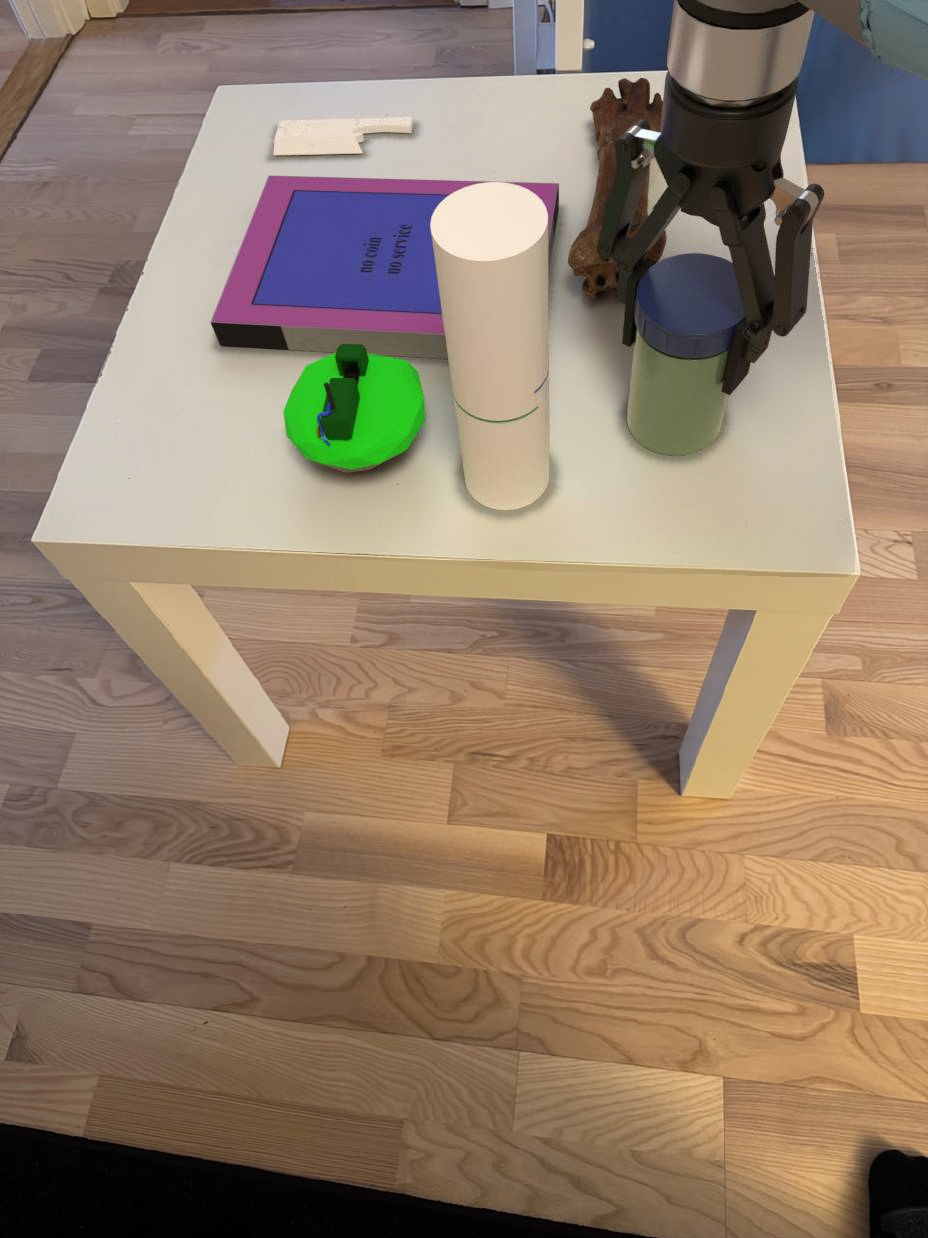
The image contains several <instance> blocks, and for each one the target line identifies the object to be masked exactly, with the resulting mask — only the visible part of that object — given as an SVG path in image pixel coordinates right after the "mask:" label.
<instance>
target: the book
mask: <svg viewBox="0 0 928 1238" xmlns="http://www.w3.org/2000/svg"><path fill="white" fill-rule="evenodd" d="M486 182H492V181H488V180H487V181H485V180H451V179H450V180H447V179H418V178H417V179H415V178H414V179H412V178H381V177H380V178H376V177H375V178H373V177H343V176H342V177H339V176H338V177H337V176H302V175H301V176H299V175H268V176H267V178H266V181H265V184H264V186H263V188H262V191H261V194H260V196H259V199H258V202H257V203H256V206H255V209H254V211H253V213H252V215H251V219H250V221H249V224H248V226H247V229H246V231H245V233H244V236H243V239H242V242H241V244H240V246H239V249H238V251H237V254H236V256H235V259H234V261H233V264H232V266H231V269H230V271H229V274H228V276H227V279H226V281H225V284H224V287H223V289H222V292H221V295H220V297H219V300H218V302H217V304H216V307H215V309H214V312H213V314H212V316H211V319H210V325H211V327H212V330H213V332H214V334H215V337H216V339H217V341H218V344H219V346H220V347H229V348H244V349H245V348H248V349H262V350H263V349H266V350H281V351H295V352H296V351H298V352H314V353H315V352H316V353H331V354H334V353H336V351H337V348H338V347H339V346H340V345H341V344H363V346H364V347H365V348H366V351H367V353H368V354H376V355H381V356H387V357H405V358H422V359H439V360H448V353H447V346H446V338H445V331H444V323H443V316H442V309H441V301H440V294H439V286H438V279H437V272H436V264H435V257H434V249H433V242H432V234H431V227H430V223H431V217H432V215H433V213H434V211H435V209H436V208H437V206H438V205H439V204H440V203H441V202H442V201H443V200H444V199H445V198H446V197H448V196H449V195H451V194H452V193H454V192H455V191H458V190H460V189H462V188H464V187H467V186H471V185H474V184H480V183H486ZM502 182H503V183H510V184H514V185H518V186H521V187H523V188H526V189H528V190H530V191H531V192H533V193H534V194H536V195H537V196H538V197H539V198H540V199H541V200H542V202H543V203H544V205H545V207H546V209H547V213H548V273H550V265H551V259H552V253H553V247H554V242H555V235H556V229H557V224H558V223H557V222H558V217H559V212H560V211H559V210H560V183H559V182H527V181H526V182H524V181H523V182H522V181H502Z"/></svg>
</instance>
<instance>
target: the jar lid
mask: <svg viewBox="0 0 928 1238" xmlns="http://www.w3.org/2000/svg"><path fill="white" fill-rule="evenodd" d="M634 317H635V323H636V326H637V329H638V331H639V333H640V334H641V336H642V337H643V338H644V339H645V340H646V341H647V342H648V343H649V344H650V345H652V346H653V347H655V348H656V349H658V350H660V351H662V352H664V353H667V354H670V355H674V356H678V357H685V358H702V357H708V356H713V355H716V354H719V353H722V352H724V351H726V350H728V349H730V348H731V346H732V342H733V338H734V333H735V329H736V327H737V325H738V324H739V323H740V322H741V321H742V320H743V319H744V318H745V313H744V308H743V304H742V300H741V296H740V292H739V288H738V283H737V279H736V275H735V271H734V267H733V263H732V261H730V260H728V259H725V258H723V257H721V256H718V255H713V254H708V253H700V252H699V253H698V252H697V253H696V252H692V253H689V252H688V253H680V254H676V255H672V256H669V257H667V258H664V259H660V260H659V262H657V263H656V264H654V265H653V266H652V267H650V268H649V269H648V270H647V271H646V272H645V273H644V275H643V276H642V278H641V279H640V282H639V284H638V288H637V296H636V299H635V307H634Z"/></svg>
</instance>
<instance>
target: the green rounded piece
mask: <svg viewBox="0 0 928 1238" xmlns="http://www.w3.org/2000/svg"><path fill="white" fill-rule="evenodd" d="M282 414H283V420H284V426H285V433H286V436H287V438H288V439H289V440H290V442H291V443H292V444H293V445H294V446H295V447H296V449H297V450H298V451H299V452H300V453H301V455H302V456H303V457H304V458H305V459H306V460H307V461H311V462H313V463H317V464H320V465H323V466H326V467H328V468H331V469H333V470H337V471H339V472H342V473H346V474H347V473H355V472H363V471H371V470H373V469H374V468H376V467H378V466H380V465H381V464H384V463H385V462H387V461H389V460H391V459H393V458H395V457H396V456H399V455H400V454H402V453H404V452H406V451H408V449H409V447H410V446H411V445H412V442H413V441H414V439H415V438H416V437H417V435H418V433H419V432H420V430H421V428H422V427H423V425H424V424H425V422H426V406H425V396H424V391H423V387H422V383H421V379H420V374H419V371H418V369H416V368H415V367H414V365H412V364H411V363H410V362H409V361H408V360H407V359H403V358H398V357H393V356H384V355H376V354H368V353H367V351H366V348H365V347H364V346H363V344H341V345H340V346H339V347H338V348H337V351H336V353H331V354H329V355H327V356H325V357H322V358H320V359H317V360H315V361H313V362H310V363H308V364H306V365H305V367H304V369H303V371H302V372H301V374H300V376H299V377H298V379H297V380H296V382H295V384H294V386H293V387H292V389H291V391H290V394H289V397H288V398H287V401H286V403H285V405H284V408H283V410H282Z"/></svg>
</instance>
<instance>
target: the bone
mask: <svg viewBox="0 0 928 1238" xmlns="http://www.w3.org/2000/svg"><path fill="white" fill-rule="evenodd" d="M617 87H618V91H619V95H620V97H617V96H616V94H615V93H614V91H613V89H612V88H611V87H605V88H604V89H603V92H602V94H601V96H600V97H599V98H598V99H597V100H594V101H592V102H591V104H590V107H589V111H591V113H592V119H593V127H594V132H595V140H598V143H597V149H596V154H597V155H596V156H597V160H598V172H597V178H596V183H595V184H596V185H595V191H594V196H593V200H592V206H591V208H590V209H591V210H590V213H589V217H588V221H587V224H586V226H585V228H584V229H583V230H581V231H580V232H579V233H578V235H577V236H576V238H575V239H574V241H573V242H572V244H571V245H570V248H569V251H568V258H567V264H568V266H569V267H570V268H571V269H572V272H573V273H572V274H573V276H574V277H584V280H583V283H582V285H581V288H582V292H583V294H584V296H586V297H587V298H589V299H593V300H594V299H596V298H597V297H598V296H599V295H600V292H605V291H606V292H607V291H608V292H609V291H610V289H613V288H614V289H616V290H618V278H619V270H618V269H617V267H616V262H615V261H614V260H613V259H612V258H610V257H608V258H603V257H601V256H600V255H599V254H598V253H597V250H596V247H597V243H598V239H599V236H600V232H601V228H602V224H603V221H604V217H605V213H606V209H607V205H608V202H609V198H610V194H611V190H612V187H613V183H614V179H615V175H616V172H617V166H616V152H615V143H616V141H617V140H618V139H619V138H620V137H621V136H622V135H623V134H624V133H625V132H626V131H627V130H628V129H629V128H630V127H631V126H632V125H634V124H635V123H636V122H637V121H638V120H640V119H643V120H646V121H647V122H648V123H649V125H650V128H651V131H656V132H661V129H660V124H661V115H662V105H663V98H662V94H660V92H655V93H654V95H653V99H652V102H651V83H650V81H649V80H648V79H647V78H645V77H640V78H638V79H637V80H636V81H631V80H629V79H628V78H621V79H619V80H618V81H617ZM650 169H651V165H650V166H649V169H648V172H647V176H646V179H645V182H644V185H643V189H642V192H641V195H640V199H639V202H638V205H637V208H636V212H635V215H634V218H633V222H632V225H631V228H630V231H629V235H628V237H629V238H630V239H631V240H632V239H633V238H634V236H635V235H636V234H637V232H638V231H639V229H640V228H641V226H642V225H643V223H644V222H645V221H646V219H647V218H648V216H649V211H648V207H649V189H650V188H649V187H650V171H651V170H650ZM666 244H667V232H666V229H665V230H664V232H663V233H662V234H661V236H660V237H659V238H658V240H657V241H656V242H655V244H654V245H653V247H652V249H651V250H650V251H649V252H648V254H647V255H646V256H645V257H644V261H645V260H646V259H647V258H650V259H653V260H655V261H656V263H658V262H659V261H661V258H662V256H663V253H664V251H665V248H666ZM644 261H643V262H644Z"/></svg>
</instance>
